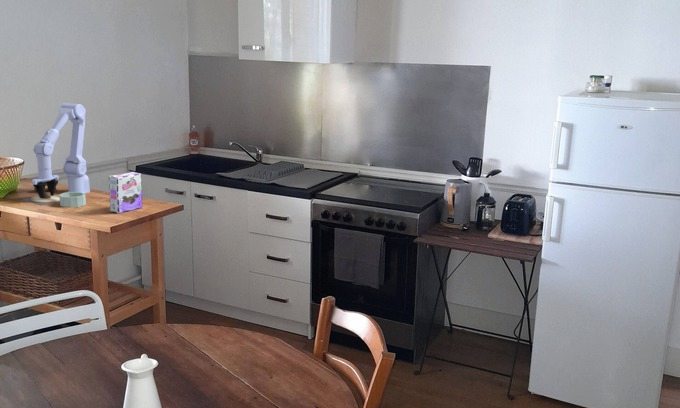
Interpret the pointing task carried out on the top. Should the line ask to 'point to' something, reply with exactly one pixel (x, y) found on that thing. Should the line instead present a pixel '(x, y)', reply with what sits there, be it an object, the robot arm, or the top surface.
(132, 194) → the candy box
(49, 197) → the lid
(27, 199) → the mat
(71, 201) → the bowl
